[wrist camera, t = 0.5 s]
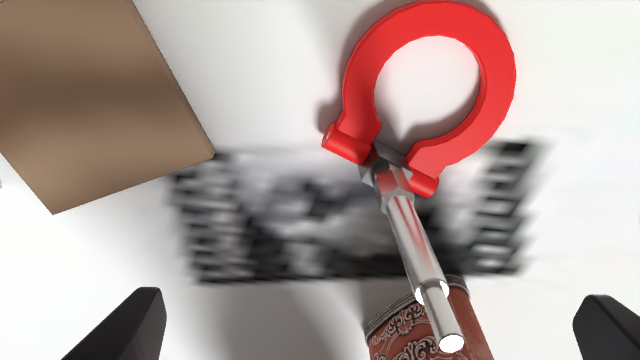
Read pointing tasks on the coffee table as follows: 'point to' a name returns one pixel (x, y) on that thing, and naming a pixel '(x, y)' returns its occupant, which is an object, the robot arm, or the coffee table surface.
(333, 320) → the coffee table surface
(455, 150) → the tow hook
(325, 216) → the coffee table surface
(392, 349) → the red-brown boxy piece
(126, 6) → the walnut plate
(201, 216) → the coffee table surface
